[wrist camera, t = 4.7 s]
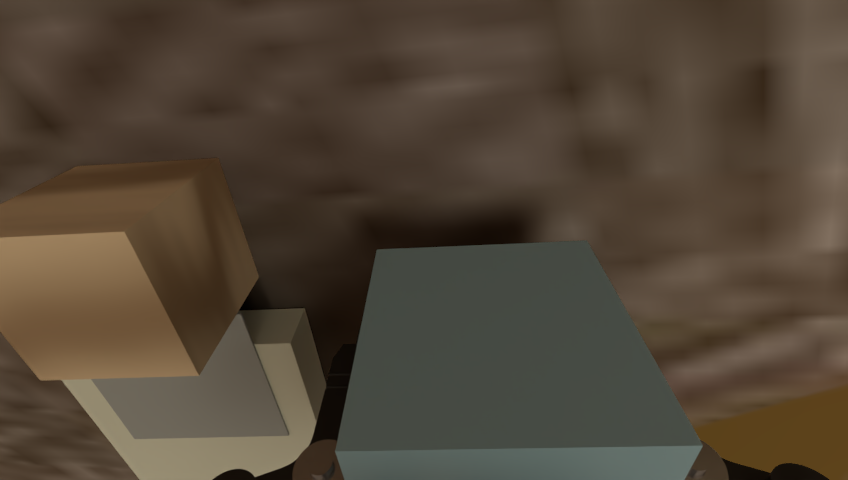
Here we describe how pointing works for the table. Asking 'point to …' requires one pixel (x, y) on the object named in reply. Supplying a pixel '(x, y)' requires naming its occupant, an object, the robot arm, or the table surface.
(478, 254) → the cube
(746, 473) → the robot arm
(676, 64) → the table surface
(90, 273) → the oak block
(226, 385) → the foundation board
